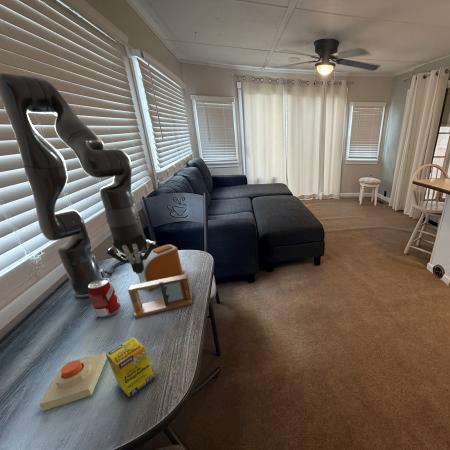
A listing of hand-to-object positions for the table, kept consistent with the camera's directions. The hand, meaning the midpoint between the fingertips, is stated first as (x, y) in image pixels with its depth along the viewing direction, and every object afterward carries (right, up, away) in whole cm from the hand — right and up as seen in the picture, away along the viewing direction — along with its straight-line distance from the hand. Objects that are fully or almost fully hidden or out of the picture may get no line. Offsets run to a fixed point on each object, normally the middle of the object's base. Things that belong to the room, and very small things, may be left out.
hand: (139, 272), depth 76 cm
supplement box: (+10, -25, -16) cm, 31 cm away
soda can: (-16, -16, +9) cm, 24 cm away
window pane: (+6, -13, +10) cm, 18 cm away
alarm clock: (-8, -8, +28) cm, 30 cm away
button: (-5, -21, -17) cm, 28 cm away
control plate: (-5, -25, -15) cm, 30 cm away
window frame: (+2, -14, +11) cm, 18 cm away
